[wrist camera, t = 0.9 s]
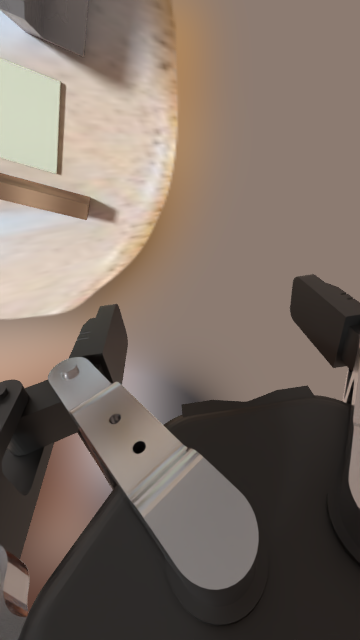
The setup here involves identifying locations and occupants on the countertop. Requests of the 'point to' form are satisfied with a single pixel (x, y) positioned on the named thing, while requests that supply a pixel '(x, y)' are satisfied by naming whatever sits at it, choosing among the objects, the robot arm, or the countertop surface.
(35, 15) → the angle bracket
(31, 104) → the mat
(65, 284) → the countertop surface
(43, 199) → the corner walls
